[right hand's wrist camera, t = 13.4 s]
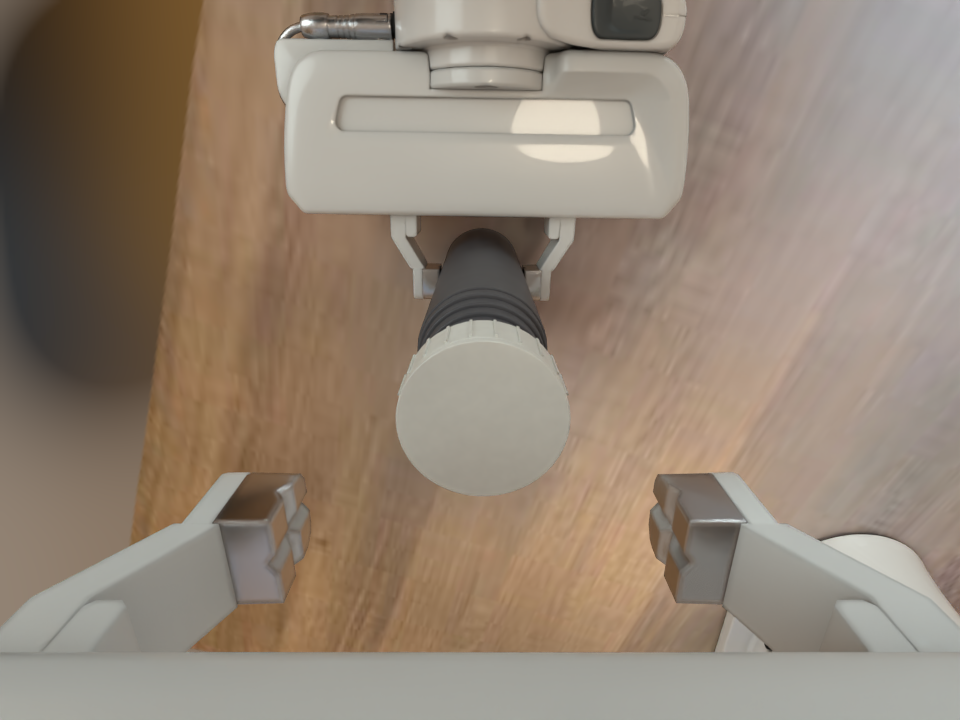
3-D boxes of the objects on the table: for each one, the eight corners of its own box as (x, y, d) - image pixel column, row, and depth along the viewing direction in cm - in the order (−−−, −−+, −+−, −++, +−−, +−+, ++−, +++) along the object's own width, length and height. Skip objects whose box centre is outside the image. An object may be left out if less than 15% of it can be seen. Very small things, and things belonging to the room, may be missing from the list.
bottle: (532, 261, 34) (607, 408, 14) (485, 313, 36) (491, 517, 15) (477, 213, 33) (473, 296, 13) (431, 268, 34) (360, 424, 14)
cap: (595, 386, 15) (610, 415, 14) (489, 488, 17) (490, 526, 15) (474, 283, 14) (474, 300, 13) (371, 401, 16) (357, 431, 14)
